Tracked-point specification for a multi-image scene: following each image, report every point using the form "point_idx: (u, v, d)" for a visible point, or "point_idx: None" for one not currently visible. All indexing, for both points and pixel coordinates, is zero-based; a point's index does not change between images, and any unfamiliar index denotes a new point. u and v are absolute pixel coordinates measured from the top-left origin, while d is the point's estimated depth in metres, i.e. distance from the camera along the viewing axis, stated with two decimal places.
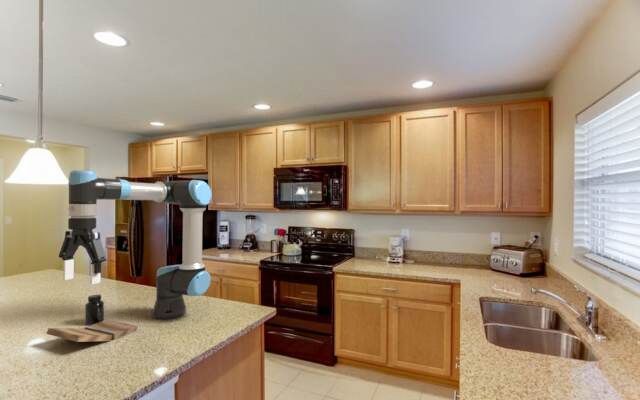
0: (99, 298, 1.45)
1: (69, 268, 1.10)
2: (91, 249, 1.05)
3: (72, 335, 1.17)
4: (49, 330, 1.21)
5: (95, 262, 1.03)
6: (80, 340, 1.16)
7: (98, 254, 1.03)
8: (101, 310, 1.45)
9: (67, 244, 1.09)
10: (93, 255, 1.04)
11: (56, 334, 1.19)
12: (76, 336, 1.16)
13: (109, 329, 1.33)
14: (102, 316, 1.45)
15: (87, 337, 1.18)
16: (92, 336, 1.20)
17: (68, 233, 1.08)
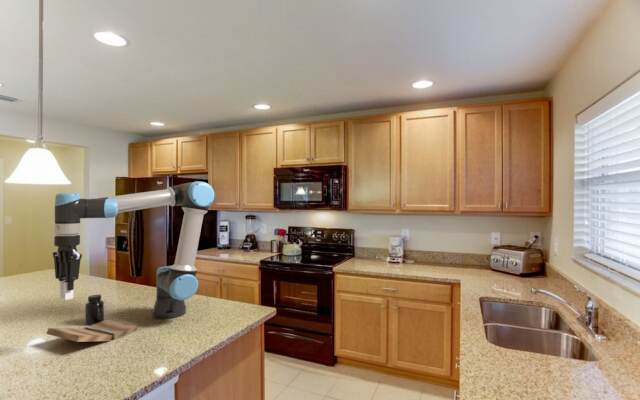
0: (99, 298, 1.45)
1: None
2: (69, 267, 1.18)
3: (72, 335, 1.17)
4: (49, 330, 1.21)
5: (68, 281, 1.18)
6: (80, 340, 1.16)
7: (72, 274, 1.17)
8: (101, 310, 1.45)
9: (58, 263, 1.21)
10: (69, 274, 1.18)
11: (56, 334, 1.19)
12: (76, 336, 1.16)
13: (109, 329, 1.33)
14: (102, 316, 1.45)
15: (87, 337, 1.18)
16: (92, 336, 1.20)
17: (55, 253, 1.21)
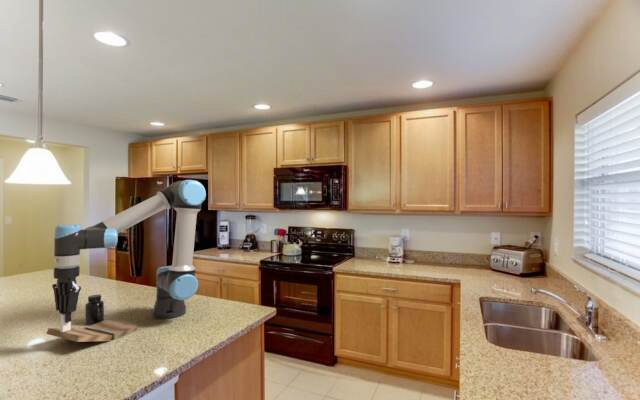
0: (99, 298, 1.45)
1: None
2: (68, 300, 1.18)
3: (72, 335, 1.17)
4: (49, 330, 1.21)
5: (65, 313, 1.18)
6: (80, 340, 1.16)
7: (70, 307, 1.17)
8: (101, 310, 1.45)
9: (58, 295, 1.21)
10: (67, 306, 1.18)
11: (56, 334, 1.19)
12: (76, 336, 1.16)
13: (109, 329, 1.33)
14: (102, 316, 1.45)
15: (87, 337, 1.18)
16: (92, 336, 1.20)
17: (55, 285, 1.21)
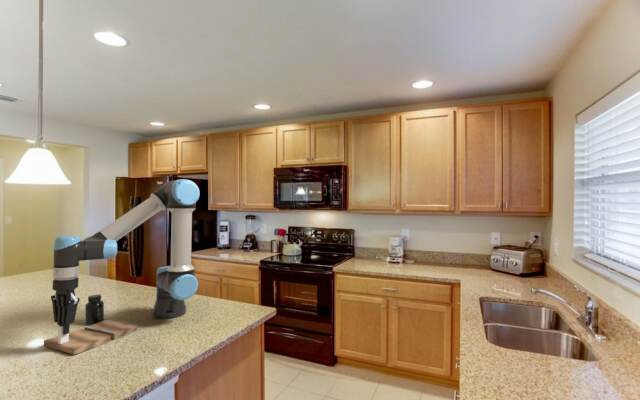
0: (99, 298, 1.45)
1: None
2: (66, 311, 1.18)
3: (68, 348, 1.15)
4: (45, 342, 1.20)
5: (63, 325, 1.18)
6: (77, 352, 1.15)
7: (69, 319, 1.17)
8: (101, 310, 1.45)
9: (57, 306, 1.20)
10: (65, 318, 1.18)
11: (53, 346, 1.19)
12: (72, 349, 1.15)
13: (109, 329, 1.33)
14: (102, 316, 1.45)
15: (84, 347, 1.17)
16: (89, 344, 1.19)
17: (53, 296, 1.20)
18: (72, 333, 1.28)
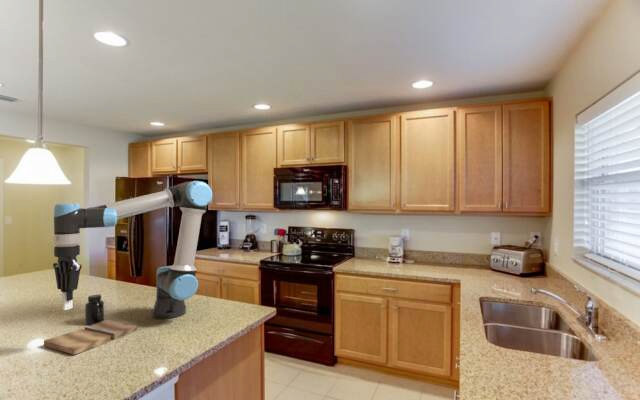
0: (99, 298, 1.45)
1: None
2: (69, 278, 1.19)
3: (68, 348, 1.15)
4: (45, 342, 1.20)
5: (67, 291, 1.18)
6: (77, 352, 1.15)
7: (72, 285, 1.18)
8: (101, 310, 1.45)
9: (59, 274, 1.21)
10: (68, 284, 1.18)
11: (53, 347, 1.19)
12: (72, 349, 1.15)
13: (109, 329, 1.33)
14: (102, 316, 1.45)
15: (84, 347, 1.17)
16: (89, 344, 1.19)
17: (55, 264, 1.21)
18: (72, 333, 1.28)
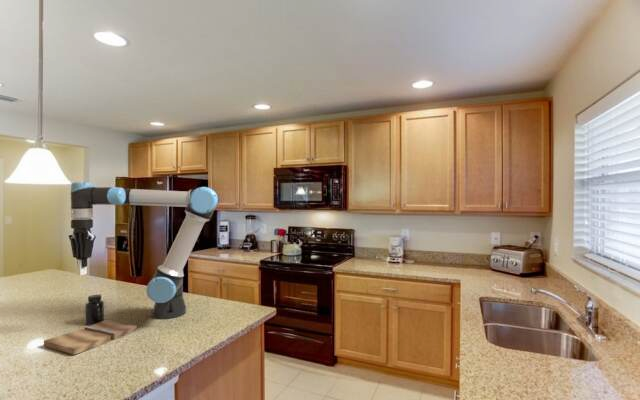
0: (99, 298, 1.45)
1: None
2: (84, 247, 1.36)
3: (68, 348, 1.15)
4: (45, 342, 1.20)
5: (82, 259, 1.35)
6: (77, 352, 1.15)
7: (87, 253, 1.35)
8: (101, 310, 1.45)
9: (74, 244, 1.38)
10: (83, 253, 1.36)
11: (53, 347, 1.19)
12: (72, 349, 1.15)
13: (109, 329, 1.33)
14: (102, 316, 1.45)
15: (84, 347, 1.17)
16: (89, 344, 1.19)
17: (71, 235, 1.38)
18: (72, 333, 1.28)
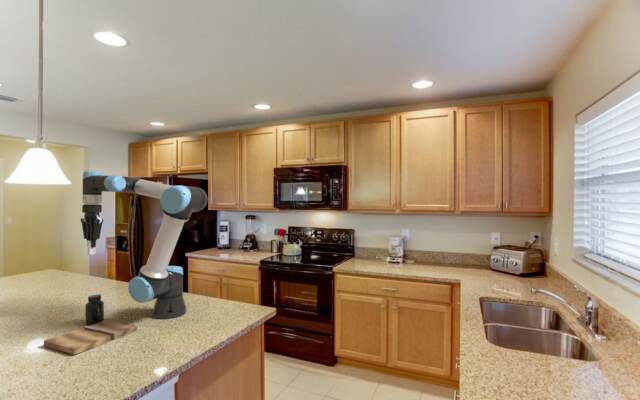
0: (99, 298, 1.45)
1: None
2: (93, 229, 1.51)
3: (68, 348, 1.15)
4: (45, 342, 1.20)
5: (91, 240, 1.51)
6: (77, 352, 1.15)
7: (95, 234, 1.50)
8: (101, 310, 1.45)
9: (85, 227, 1.53)
10: (92, 234, 1.51)
11: (53, 347, 1.19)
12: (72, 349, 1.15)
13: (109, 329, 1.33)
14: (102, 316, 1.45)
15: (84, 347, 1.17)
16: (89, 344, 1.19)
17: (82, 219, 1.53)
18: (72, 333, 1.28)
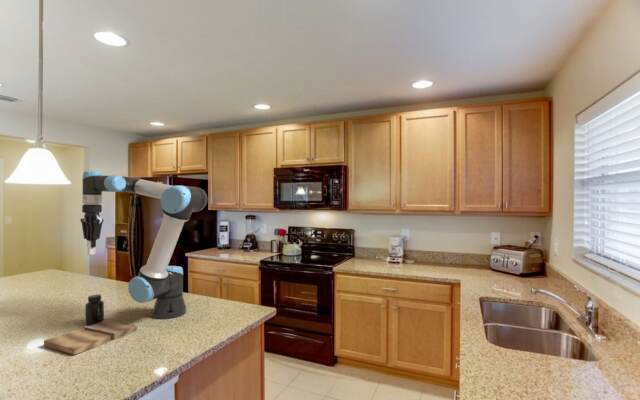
0: (99, 298, 1.45)
1: None
2: (93, 229, 1.51)
3: (68, 348, 1.15)
4: (45, 342, 1.20)
5: (91, 240, 1.51)
6: (77, 352, 1.15)
7: (95, 234, 1.50)
8: (101, 310, 1.45)
9: (85, 227, 1.53)
10: (92, 234, 1.51)
11: (53, 347, 1.19)
12: (72, 349, 1.15)
13: (109, 329, 1.33)
14: (102, 316, 1.45)
15: (84, 347, 1.17)
16: (89, 344, 1.19)
17: (82, 219, 1.53)
18: (72, 333, 1.28)
